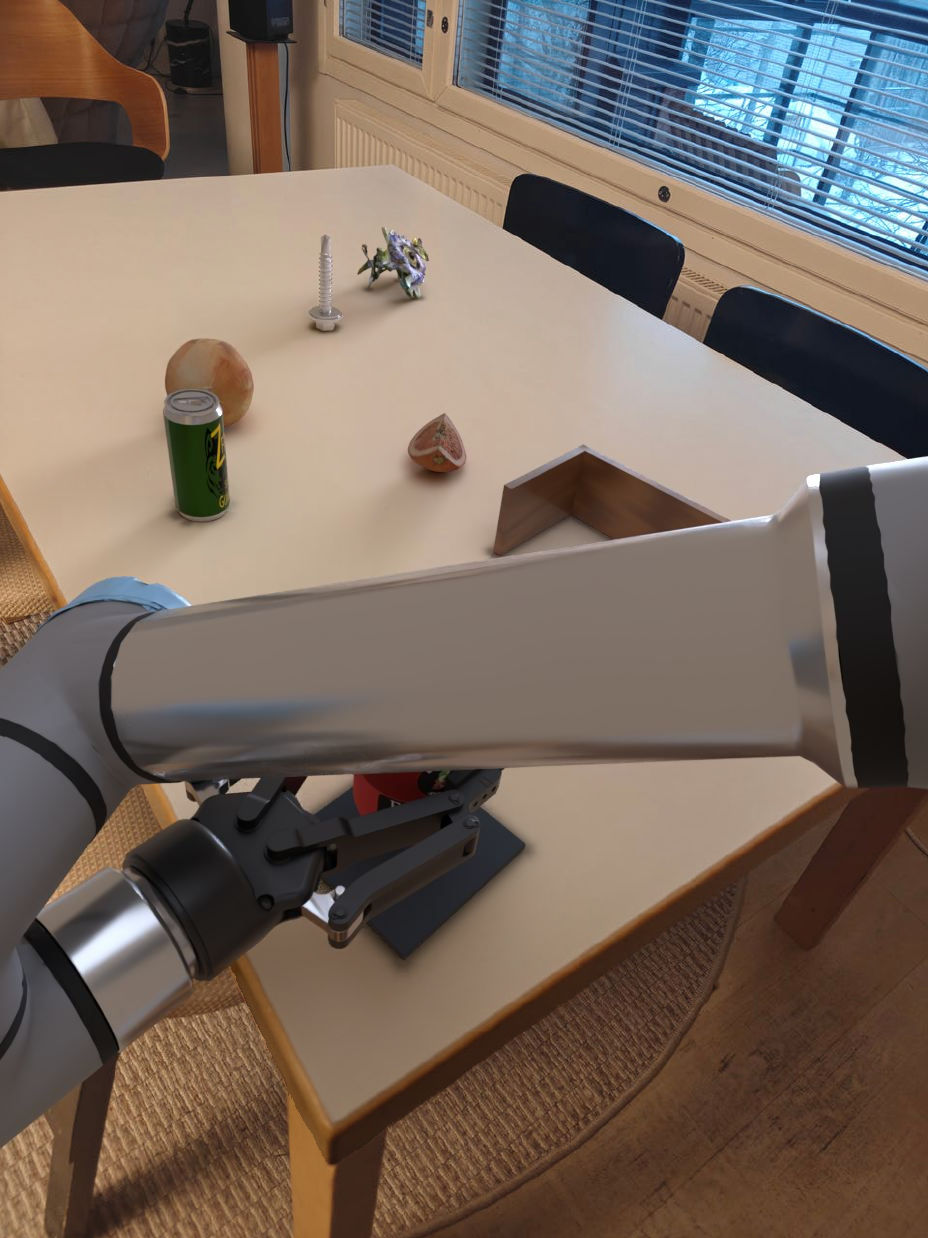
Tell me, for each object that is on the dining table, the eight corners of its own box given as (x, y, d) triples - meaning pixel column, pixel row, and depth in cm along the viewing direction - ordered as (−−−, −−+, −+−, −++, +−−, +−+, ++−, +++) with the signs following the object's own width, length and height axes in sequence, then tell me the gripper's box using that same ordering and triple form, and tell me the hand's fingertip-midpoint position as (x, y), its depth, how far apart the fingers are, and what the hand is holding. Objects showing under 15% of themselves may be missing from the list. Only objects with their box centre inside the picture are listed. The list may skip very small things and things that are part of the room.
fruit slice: (461, 491, 96) (466, 451, 93) (401, 482, 96) (404, 443, 92) (467, 453, 102) (472, 415, 99) (411, 445, 102) (414, 407, 99)
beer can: (174, 524, 85) (160, 415, 78) (176, 494, 89) (162, 387, 82) (230, 522, 87) (221, 414, 79) (230, 493, 91) (221, 387, 83)
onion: (173, 447, 96) (163, 362, 90) (166, 405, 103) (156, 324, 97) (261, 441, 99) (257, 359, 93) (248, 400, 106) (244, 321, 100)
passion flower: (412, 329, 141) (426, 286, 130) (347, 310, 139) (355, 265, 128) (424, 271, 144) (439, 224, 133) (361, 251, 142) (370, 202, 131)
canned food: (376, 864, 53) (385, 747, 46) (335, 767, 58) (338, 649, 51) (487, 829, 56) (513, 714, 48) (439, 740, 61) (456, 624, 54)
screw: (304, 321, 126) (336, 319, 128) (314, 335, 123) (346, 333, 124) (303, 228, 117) (337, 227, 119) (313, 240, 114) (348, 239, 116)
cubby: (760, 615, 85) (789, 550, 79) (693, 677, 77) (720, 609, 72) (569, 507, 96) (583, 444, 90) (492, 551, 88) (503, 484, 83)
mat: (524, 848, 61) (526, 843, 61) (404, 960, 54) (404, 955, 54) (406, 751, 67) (407, 746, 66) (283, 841, 59) (282, 836, 59)
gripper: (63, 837, 49) (360, 658, 63) (293, 1116, 40) (584, 833, 54) (35, 752, 44) (363, 578, 58) (290, 1047, 35) (610, 755, 49)
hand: (469, 700), depth 56 cm, fingers closed on canned food, 8 cm apart
